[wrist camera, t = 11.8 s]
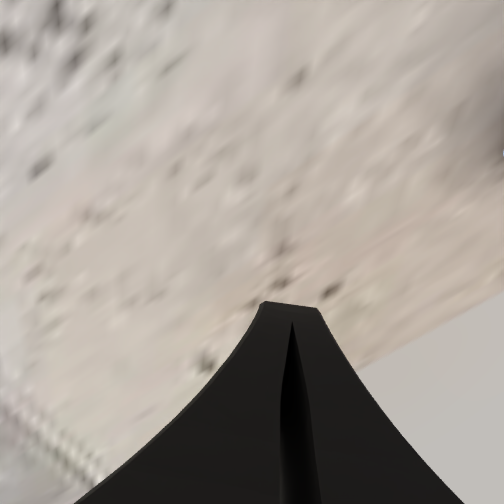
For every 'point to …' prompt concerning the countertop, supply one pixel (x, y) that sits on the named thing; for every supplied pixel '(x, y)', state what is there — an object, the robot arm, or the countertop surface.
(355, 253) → the countertop surface
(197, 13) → the countertop surface
